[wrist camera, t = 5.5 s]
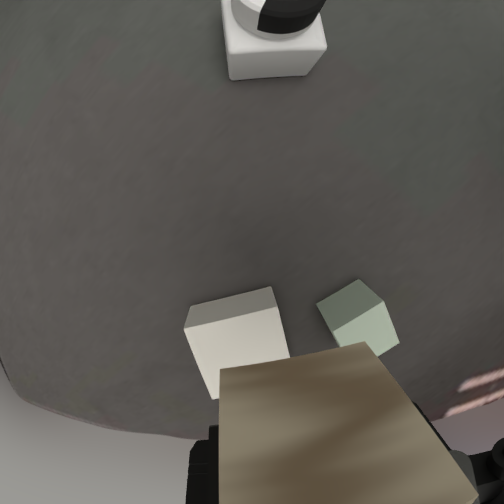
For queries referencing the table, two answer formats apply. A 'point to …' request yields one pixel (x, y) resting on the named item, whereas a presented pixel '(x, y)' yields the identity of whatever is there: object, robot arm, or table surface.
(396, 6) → the table surface
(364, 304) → the sage block
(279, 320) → the cream base block
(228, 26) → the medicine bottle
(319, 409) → the maple block
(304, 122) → the table surface
